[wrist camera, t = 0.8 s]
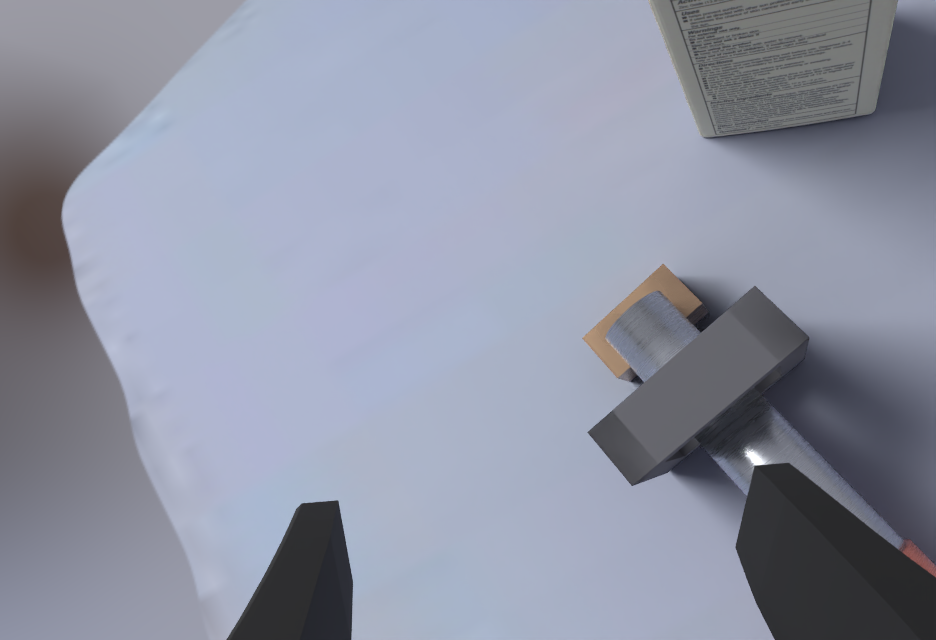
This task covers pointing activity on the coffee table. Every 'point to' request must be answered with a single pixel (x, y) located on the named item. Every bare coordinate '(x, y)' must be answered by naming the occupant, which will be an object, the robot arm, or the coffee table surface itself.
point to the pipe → (742, 425)
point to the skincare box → (776, 59)
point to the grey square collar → (700, 387)
